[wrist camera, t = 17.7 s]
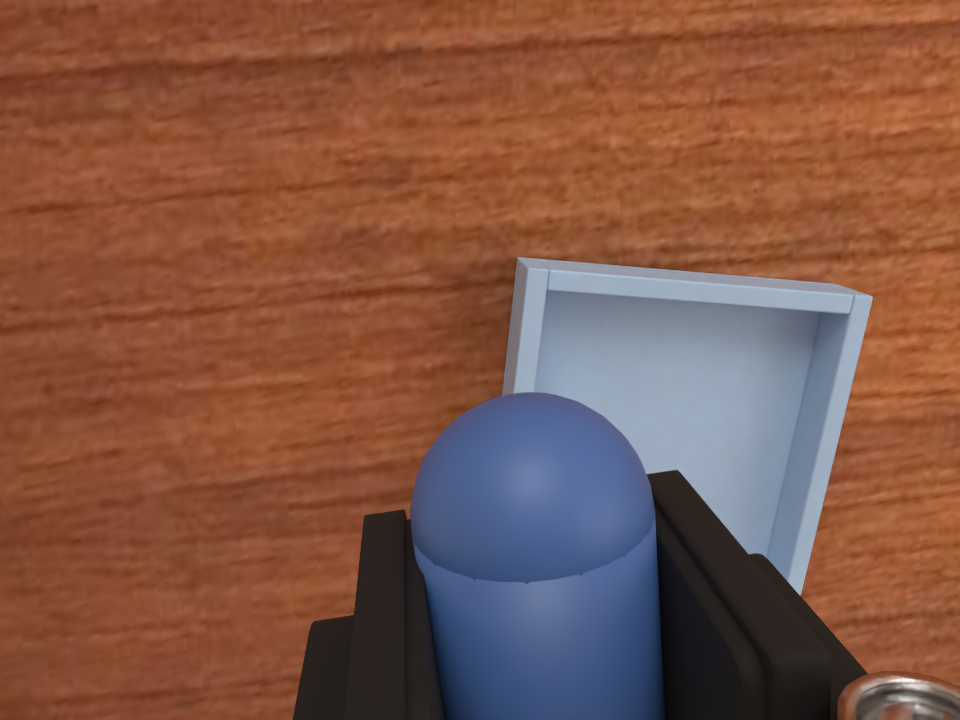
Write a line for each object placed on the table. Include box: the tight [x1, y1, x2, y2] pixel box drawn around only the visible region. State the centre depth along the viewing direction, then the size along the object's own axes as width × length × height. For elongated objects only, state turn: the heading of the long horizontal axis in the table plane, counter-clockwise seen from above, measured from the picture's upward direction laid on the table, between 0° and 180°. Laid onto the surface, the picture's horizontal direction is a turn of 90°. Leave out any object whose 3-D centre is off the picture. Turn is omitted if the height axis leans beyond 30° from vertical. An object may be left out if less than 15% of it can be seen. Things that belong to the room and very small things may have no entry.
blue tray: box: [502, 257, 873, 596], centre depth 24 cm, size 10×16×2 cm, turn 174°
